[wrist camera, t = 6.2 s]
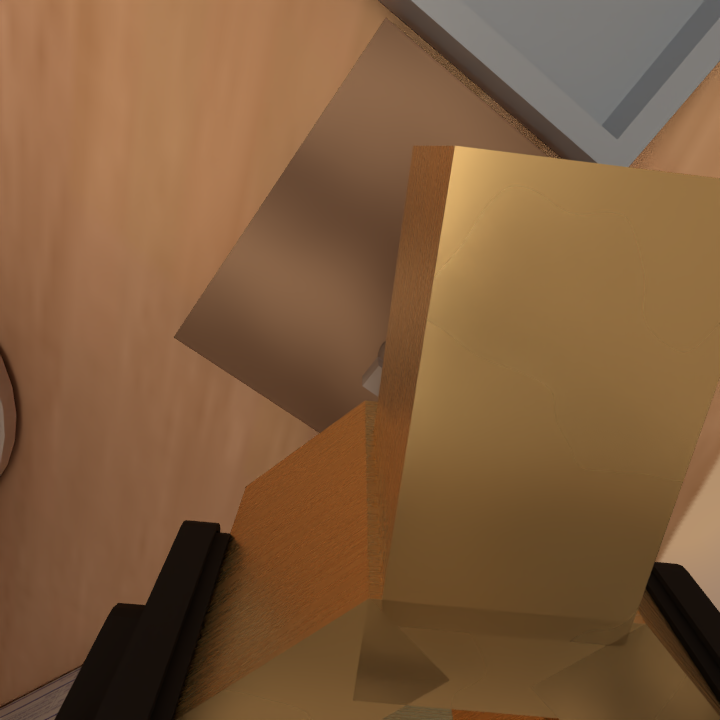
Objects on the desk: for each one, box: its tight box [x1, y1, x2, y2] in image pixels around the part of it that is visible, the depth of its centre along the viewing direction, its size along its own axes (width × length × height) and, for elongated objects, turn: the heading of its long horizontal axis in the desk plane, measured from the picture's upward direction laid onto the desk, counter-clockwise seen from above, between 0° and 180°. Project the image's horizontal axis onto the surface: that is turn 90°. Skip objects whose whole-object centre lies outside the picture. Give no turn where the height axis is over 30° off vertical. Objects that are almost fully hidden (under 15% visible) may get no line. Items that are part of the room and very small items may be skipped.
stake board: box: [174, 18, 548, 433], centre depth 19 cm, size 13×12×5 cm
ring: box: [173, 146, 720, 720], centre depth 8 cm, size 10×6×4 cm, turn 173°
